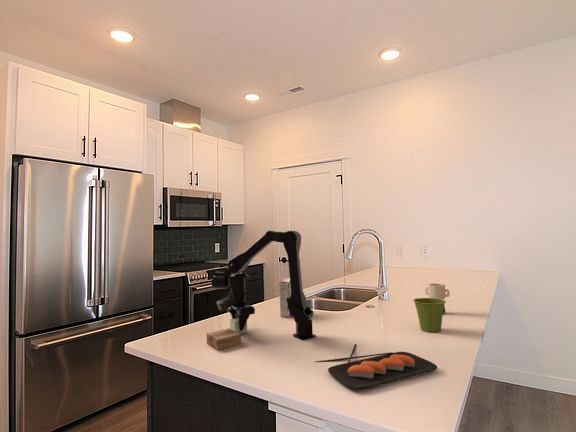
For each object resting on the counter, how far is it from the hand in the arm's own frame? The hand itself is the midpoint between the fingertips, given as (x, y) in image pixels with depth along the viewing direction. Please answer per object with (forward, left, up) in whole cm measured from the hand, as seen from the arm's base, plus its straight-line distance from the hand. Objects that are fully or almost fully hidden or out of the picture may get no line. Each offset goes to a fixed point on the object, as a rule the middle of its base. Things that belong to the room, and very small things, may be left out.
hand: (238, 328), depth 134 cm
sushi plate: (-51, -19, -2) cm, 54 cm away
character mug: (-28, -87, -2) cm, 91 cm away
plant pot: (-42, -62, -2) cm, 75 cm away
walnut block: (-10, +10, -2) cm, 14 cm away
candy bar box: (+12, -30, -2) cm, 32 cm away
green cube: (0, 0, -1) cm, 1 cm away
